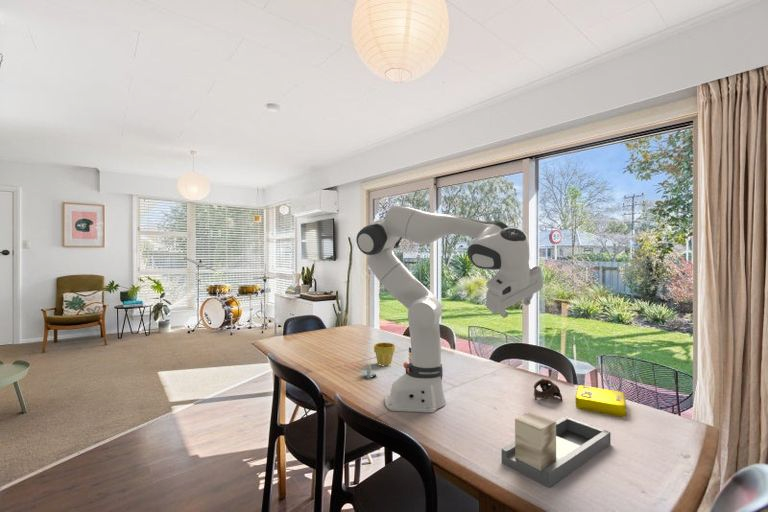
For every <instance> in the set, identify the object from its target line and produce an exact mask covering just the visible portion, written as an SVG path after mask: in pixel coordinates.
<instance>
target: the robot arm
mask: <svg viewBox="0 0 768 512" xmlns="http://www.w3.org/2000/svg"><path fill="white" fill-rule="evenodd" d="M450 235H461V236H465V237H469V238H474V240H473V241H472V243H471V244H470V245H469V246H468V248H467V250H466V251H467V252H466V253H467V257H468V260H469V262H470V263H471V264H472V265H473V266H475V267H476V268H478V269H483V270H490V271H491V270H494V271H495V270H496V271H497V270H498V271H497V272H496V273H495V274H494V275H493V276H492V277H491V278H490V279H488V281H486V288H487V289H488V290H487V291H486V295H485V303H486V304H485V305H486V308H487V310H488V311H489V312H491V313H492V314H495V315H496V314H499V313H500V316H501V318H503V319H505V318H508V316H509V315H508V313H509V312H507V311H506V309H507V308H510V307H512V306H514V305H515V304H517V303H520V302H521V301H523V302H522V303H523V305H525V306H527V307H528V306H529V305H530V304H531V300H532V299H533V297H534V294H536V293H538V292H540V291H541V290H542V289H543V287H544V285H543V284H544V283H543V281H544V280H543V276H542V268H541V267H540V266H539V265H534V266H532V267H531V268H530V265H529V261H530V244H529V239H528V236H527V234H526V233H525V232H524V231H523V229H522V230H521V229H520V228H517V227H510V226H508V225H507V224H505V222H502V221H500V220H499V221H498V220H479V219H475V218H469V217H466V216H461V215H457V214H456V215H455V214H451V213H450V214H449V213H433V212H428V211H423V210H421V209H420V210H419V209H417V208H413V207H410V206H403V205H393V206H392V207H389V208H388V210H387V211H386V213H385V215H384V218H382V219H378V220H376V221H373V223H371V224H370V223H369V225H365V226H364V227H363V228H361V229H360V230H359V231H358V232H357V235H356V239H355V241H356V245H357V248H358V249H359V250H360V252H362V253H363V254H364V255H367V258H366V262H367V265H368V267H369V268H370V271H372V274H373V275H374V276H375V277H376V278H377V280H378V281H379V282H380V284H381V285H382V286H383V287H384V288H385V289H386V291H388V293H389V294H390V295H391V296H392V298H394V299H395V300H397V301H398V302H399V303H401V304H402V305H403V306H404V307H405V308H406V309H407V318H408V329H409V337H410V362H409V363H408V362H407V361H405V362H403V364H402V365H403V367H404V369H405V373H404V374H403V375H401V376H400V377H399V378H398V379H396V380H395V381H394V382H392V385H391V388H390V392H389V393H387V394H386V395H385V396H384V405H385V407H386V408H387V410H390V411H392V412H410V413H411V412H413V413H434V412H436V411H437V410H438V409H441V408H442V407H444V406H445V405H446V398H445V395H444V389H443V381H442V380H443V371H444V370H443V364H442V342H441V341H442V340H441V331H440V328H441V327H440V317H441V316H442V314H443V305H442V304H441V301H440V300H439V299H438V298H437V297H436V296H435V295H434V294H433V293H432V292H431V291H430V290H429V289H428V288H427V287H426V286H425V285H424V284H423V283H421V281H419V280H418V278H416V277H415V276H414V275H413V274H412V272H411V271H410V270H409V269H408V268H407V267H406V265H404V263H403V262H402V261H401V260H400V259H399V258H398V257H397V256H396V255H395V249H398V247H399V245H400V243H401V241H402V239H404V240H407V241H409V242H413V243H414V244H418V245H419V244H421V245H428V244H432V243H433V242H435V241H437V240H439V239H442V238H444V237H446V236H450Z"/></svg>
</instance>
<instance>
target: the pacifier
mask: <svg viewBox="0 0 768 512" xmlns="http://www.w3.org/2000/svg"><path fill="white" fill-rule="evenodd" d="M361 375H362V376H363V377H366V376H367V377H371V376H375V375H377V373H375V372H372V366H371V364H370V363H366V364H365V370H364V369H363V370H361ZM367 377H366V378H367Z"/></svg>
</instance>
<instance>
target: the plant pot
mask: <svg viewBox="0 0 768 512" xmlns="http://www.w3.org/2000/svg"><path fill="white" fill-rule="evenodd" d="M395 347H396V345H395V344H394V343H391V342H377V343H374V345H373V352H374V353H375V357H376V361H377V365H378V364H381V365H389V364H391V365H392V362H393V361H392V360H393V356H394V353H395V351H396V349H395ZM389 366H390V365H389Z"/></svg>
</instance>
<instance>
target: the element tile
mask: <svg viewBox="0 0 768 512" xmlns="http://www.w3.org/2000/svg"><path fill="white" fill-rule="evenodd" d="M575 408H576V409H579V410H582V411H588V412H592V413H597V414H601V415H609V416H613V417H619V418H625V417H627V401H626V396H625V393H624V392H622V391H618V390H612V389H606V388H602V387H601V388H600V387H593V386H587V385H582V384H581V385H579V386H578V385H577V389H576V393H575Z"/></svg>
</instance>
